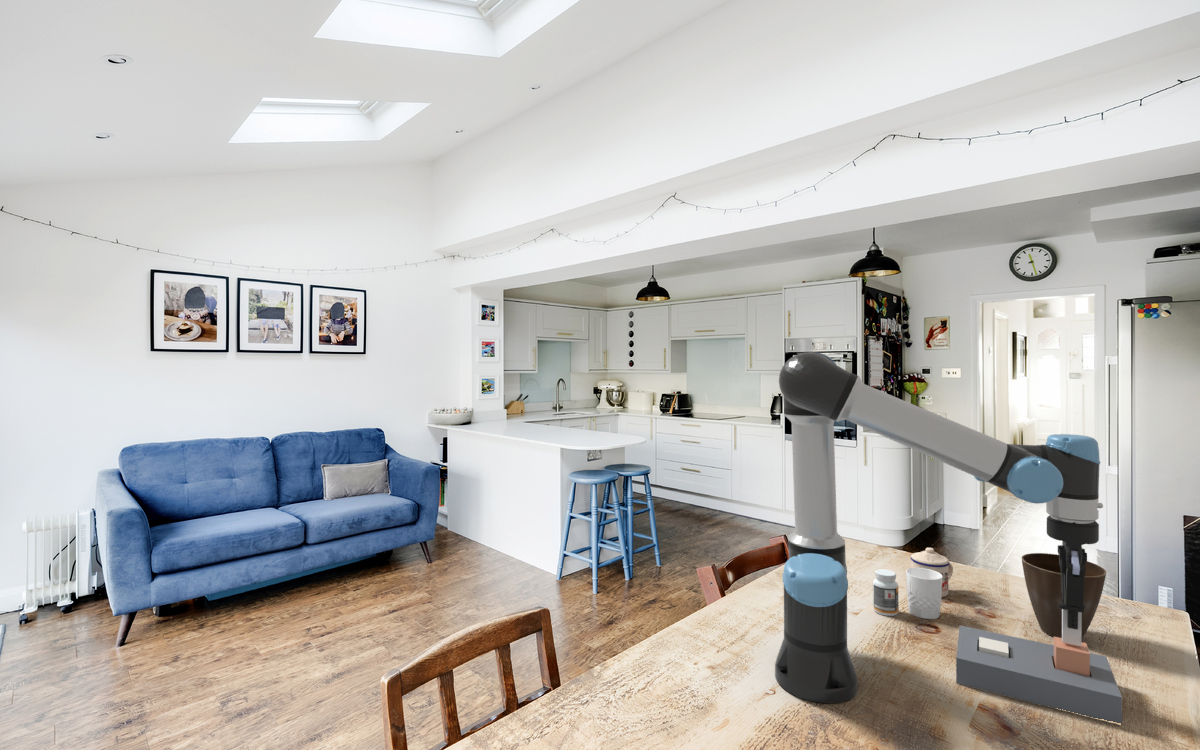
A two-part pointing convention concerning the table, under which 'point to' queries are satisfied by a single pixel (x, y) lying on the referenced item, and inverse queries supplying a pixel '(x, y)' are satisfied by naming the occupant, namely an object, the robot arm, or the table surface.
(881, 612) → the pill bottle
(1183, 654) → the table surface
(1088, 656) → the terracotta plug
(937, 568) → the teacup with lid
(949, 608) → the table surface
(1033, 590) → the plant pot
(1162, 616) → the table surface
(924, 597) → the white cup
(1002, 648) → the ivory plug
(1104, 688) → the socket block
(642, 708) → the table surface
